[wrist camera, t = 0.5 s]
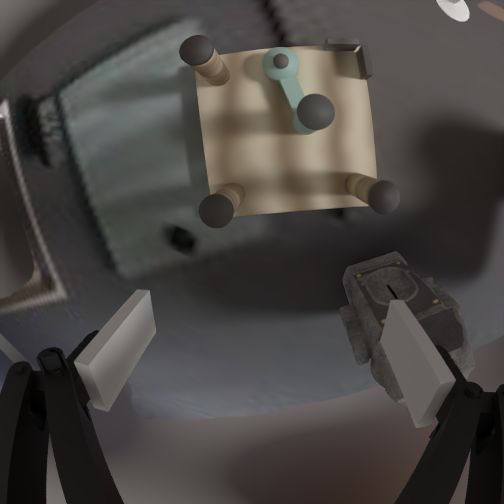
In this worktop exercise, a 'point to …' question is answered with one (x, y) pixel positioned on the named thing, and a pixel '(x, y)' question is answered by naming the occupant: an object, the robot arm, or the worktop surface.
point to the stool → (285, 133)
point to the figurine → (417, 300)
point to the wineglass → (455, 9)
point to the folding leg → (299, 94)
